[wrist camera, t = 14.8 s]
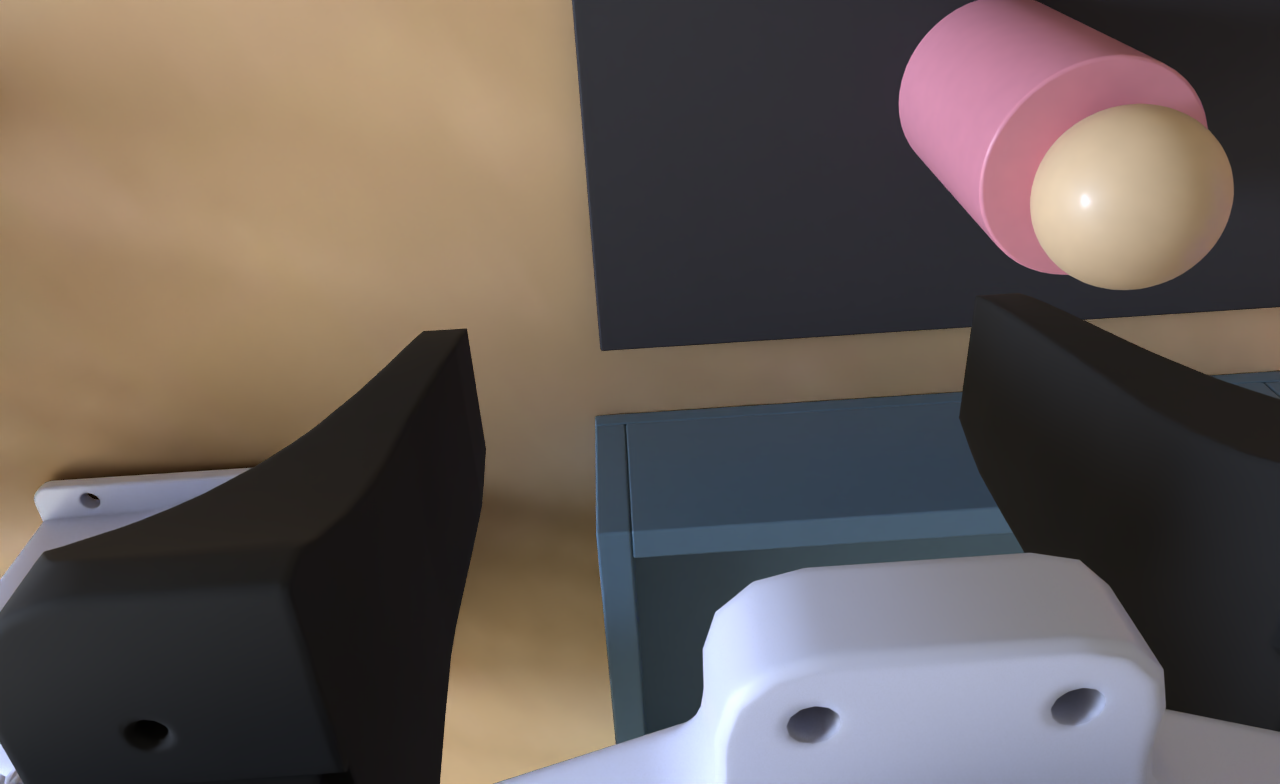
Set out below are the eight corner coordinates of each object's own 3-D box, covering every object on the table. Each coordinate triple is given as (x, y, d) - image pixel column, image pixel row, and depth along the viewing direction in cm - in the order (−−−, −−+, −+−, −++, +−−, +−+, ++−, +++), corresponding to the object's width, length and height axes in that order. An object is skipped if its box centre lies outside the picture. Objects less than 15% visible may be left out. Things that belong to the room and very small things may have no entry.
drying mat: (600, 342, 26) (600, 352, 25) (556, -199, 19) (555, -199, 19) (1294, 297, 26) (1306, 306, 25) (1472, -253, 20) (1492, -255, 19)
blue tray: (631, 825, 36) (636, 965, 32) (594, 415, 27) (596, 534, 23) (1143, 789, 36) (1217, 923, 32) (1281, 370, 27) (1411, 480, 23)
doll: (897, 187, 23) (1031, 364, 16) (898, 9, 21) (1052, 121, 14) (1069, 164, 23) (1279, 331, 16) (1087, -18, 21) (1337, 82, 14)
